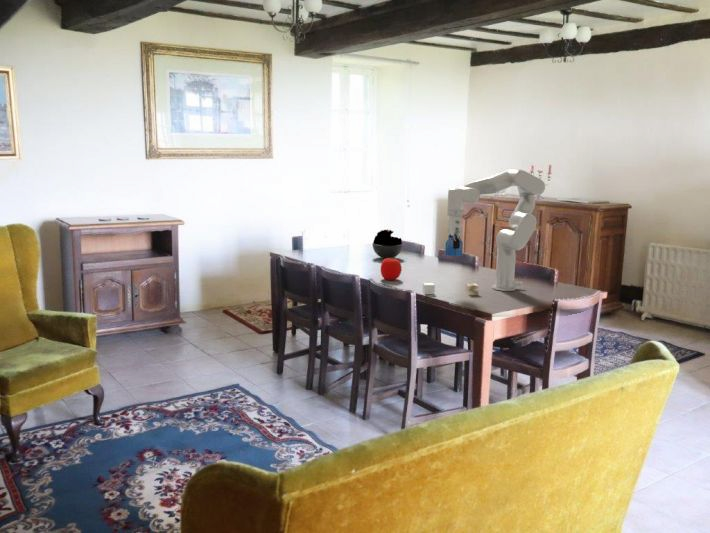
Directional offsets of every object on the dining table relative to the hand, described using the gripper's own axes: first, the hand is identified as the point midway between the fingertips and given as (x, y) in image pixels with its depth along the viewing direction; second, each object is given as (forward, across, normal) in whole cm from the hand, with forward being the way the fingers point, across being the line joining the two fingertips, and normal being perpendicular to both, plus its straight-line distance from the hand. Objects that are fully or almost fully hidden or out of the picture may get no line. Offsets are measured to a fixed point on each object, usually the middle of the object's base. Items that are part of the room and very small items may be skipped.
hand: (453, 247), depth 322 cm
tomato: (+24, +32, +26) cm, 48 cm away
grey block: (+24, -1, +12) cm, 27 cm away
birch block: (+24, -3, -10) cm, 26 cm away
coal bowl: (+24, +97, +17) cm, 101 cm away
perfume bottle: (+4, 0, 0) cm, 4 cm away
